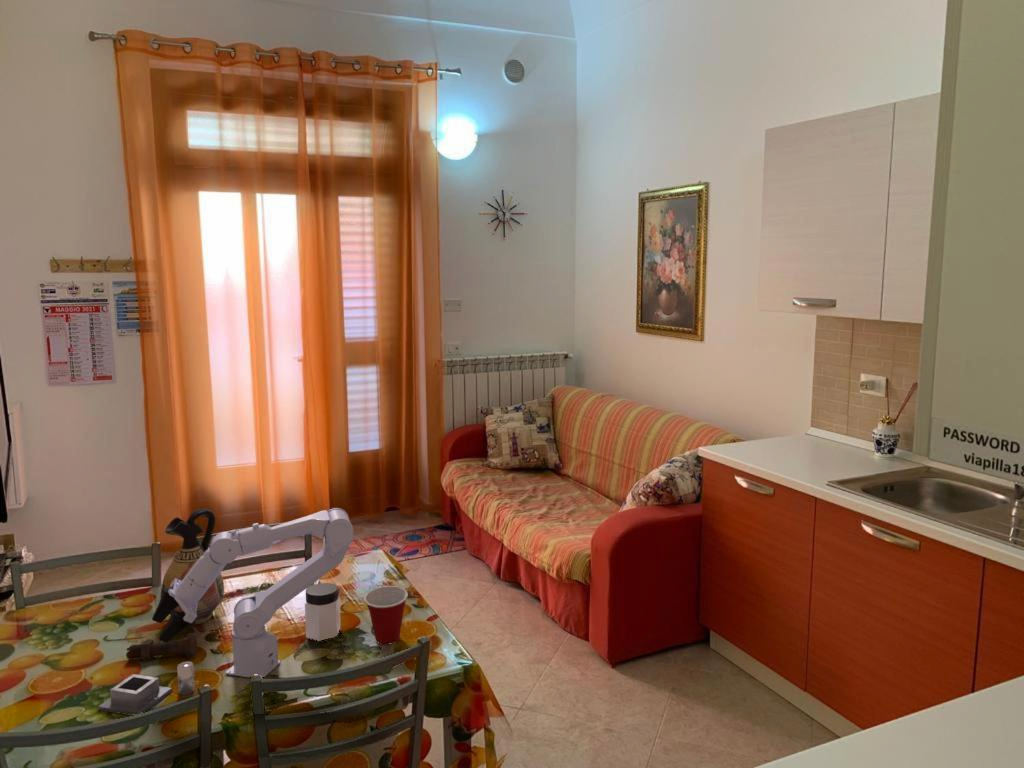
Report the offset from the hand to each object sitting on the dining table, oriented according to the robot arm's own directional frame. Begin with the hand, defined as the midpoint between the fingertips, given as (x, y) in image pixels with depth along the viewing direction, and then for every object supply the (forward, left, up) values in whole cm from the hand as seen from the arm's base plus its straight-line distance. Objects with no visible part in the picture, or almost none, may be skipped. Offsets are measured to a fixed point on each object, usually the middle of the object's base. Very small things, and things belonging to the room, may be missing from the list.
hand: (159, 630), depth 167 cm
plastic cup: (-41, -31, -12) cm, 53 cm away
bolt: (+8, -10, -13) cm, 18 cm away
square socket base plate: (0, +8, -12) cm, 14 cm away
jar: (-24, -30, -12) cm, 40 cm away
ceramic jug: (+13, -30, -12) cm, 35 cm away
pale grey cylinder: (-8, +2, -12) cm, 14 cm away
